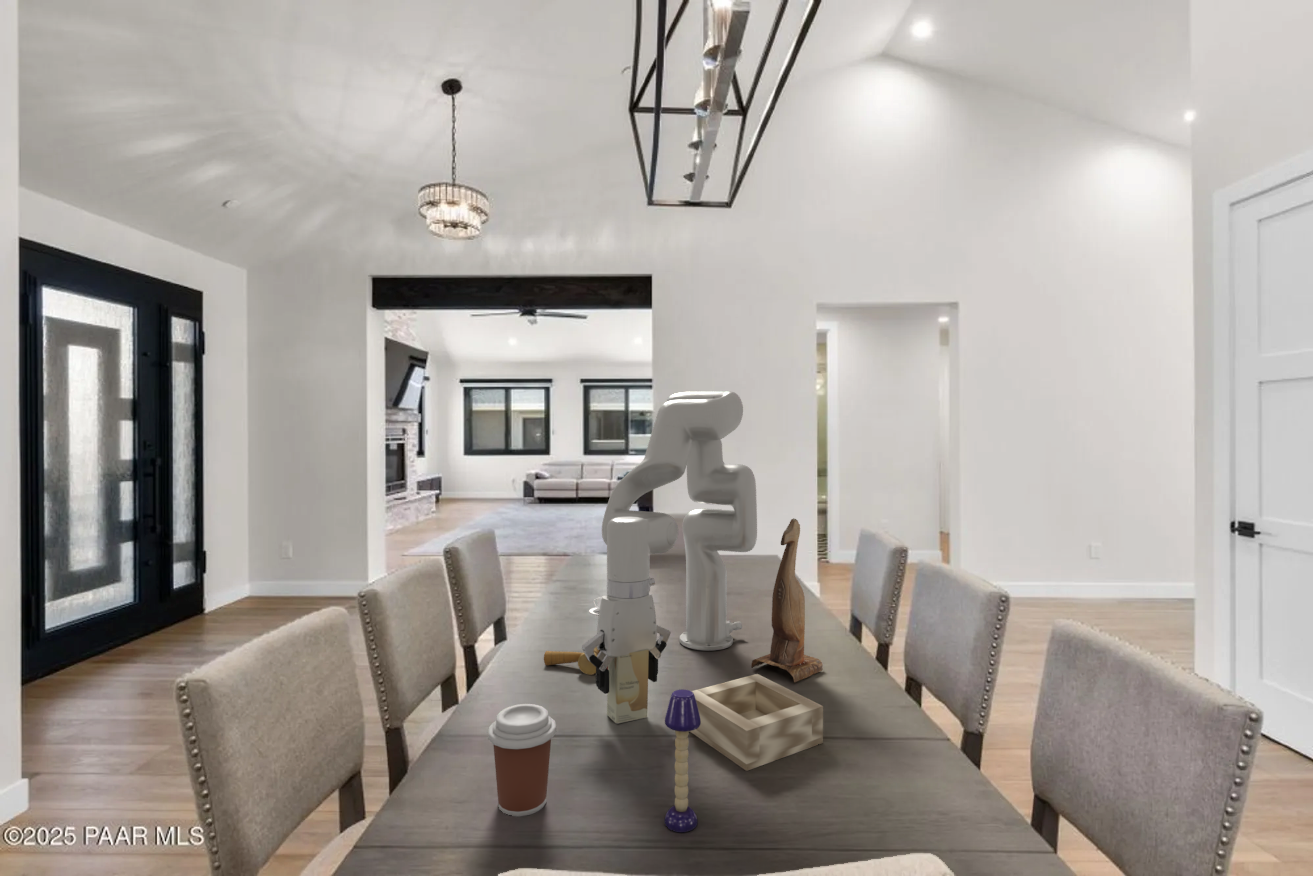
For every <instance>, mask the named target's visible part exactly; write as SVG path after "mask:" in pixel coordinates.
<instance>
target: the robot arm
mask: <svg viewBox="0 0 1313 876" xmlns="http://www.w3.org/2000/svg"><path fill="white" fill-rule="evenodd" d="M743 412H744V405H743V402H742V399H741V397H740V395H738V394H737V393H736V392H734V391H728V390H727V391H726V390H725V391H723V390H722V391H683V392H682V391H681V392H677V393H674V394H673V393H672V394H671V395H670V396H669V397H667V399H666V402H664V403H662V405H660V407H659V408H658V411H657V413H656V416H655V421H654V424H653V427H652V431H651V434H650V437H649V442H648V443H647V448H646V450H645V454H644V458H643V459H642V461H641V462H639V463H638V465H636V466H635V467H633V468H632V469H631V470H630V471H629V472H628V473H626V475H624V476H623V477H622V479H620V480H619V482H618V483H617V484H615V485H616V486H615V487H613V490H612V491H611V494H610V496H609V499H608V502H607V505H606V509H605V510H604V514H603V515H604V516H603V518H602V523H601V537H602V540H603V542H604V544H605V545H606V595H602V596H603V597H602V596H601V597H602V600H601V604H600V609H599V610H598V614H599V615H597V617H598V618H597V624H596V625H597V626H596V627H597V628H596V634H595V635H594V636H593V637H592V638H590V639H588V640H587V641H586V642H585V643H583V644H582V645H581V650H582V651H583V652H582V653H585V655H586V657H587V660H589V661H590V662H591V663H592V664H593V665H594V666H595V667H596V673H595V686H596V687H597V689H598V690H599V691H600V692H601V693H603V694H605V695H607V693H608V692H609V670H607V669H606V668H607V667H608V665H609V663H610V662H611V660H612V659H613V658H616V657H619V656H623V655H627V654H629V653H631V652H636V651H641V650H646V649H649V659H648V681H649V680H650V681H651V682H653V683H656V682H658V674H659V659H661V658H662V653H663V652H664V650H665V649H666V647H667V642H668V640H669V638H670V636H671V633H672V632H671V631H670V630H669V629H667V628H665V627H662V626H661V625H658V624H657V616H656V608H655V602H654V598H653V594H652V593H650V592H651V587H652V586H655V585H656V580H655V578H654V577H650V566H651V565H650V560H651V559H650V556H651V555H658V554H659V555H660V554H664V553H667V552H669V551H670V550H672V548H673V547H674V546H675V544H677V540H678V538H679V537H678V536H679V526H678V524H677V521H676V520H675V518H674V517H672V516H671V515H670V514H667V513H665V512H656V511H644V510H632V509H631V507H632V506H633V504H634V503H635V502H636V501H637V500H638V499H640V497H642V496H643V495H645V494H646V493H647V494H648V493H649V492H651V491H653V490H656V489H658V488H661V487H663V486H665V485H667V484H670V483H673V482H675V481H677V480H679V479H680V478H681V477H683V475H684V474H685V473H686V481H687V482H686V488H687V492H688V493H687V494H688V497H689V498H690V500H691V501H692V502H694V503H697V504H704V505H713V506H714V505H715V506H730V507H732V509H733V510H731V509H722V508H721V509H719V508H696V509H692V510H690V511H689V512H687V513H686V514H685V515H684V518H683V519H682V520H683V521H682V527H681V529H682V537H683V543H684V549H685V560H686V561H685V563H686V564H685V567H686V570H685V571H686V574H685V577H686V578H685V585H686V586H685V590H686V591H685V631H683V632H682V633H681V634H680V635H679V643H680V644H681V646H684V647H686V648H688V649H691V650H696V651H709V652H710V651H720V650H724V649H727V648H730V647H731V646H732V645H733V643H734V640H733V639H734V638H733V636H732V635H731V633H733V631H738V630H742V628H743V623H742V622H741V621H734V622H731V620H727V588H728V587H727V583H728V582H727V578H728V577H727V576H728V575H727V566H726V563H725V561H724V560H723V558H722V556H721V555H720V553H719V552H720V551H722V552H732V553H733V552H734V553H748V552H750V551H752V550H753V549H754V548H755V546H756V543H757V540H758V539H757V538H758V513H757V512H758V511H757V509H758V508H757V507H758V505H757V503H758V502H757V483H756V478H755V474H754V472H753V470H752V468H751V467H749V466H747V465H745V464H737V463H725V462H724V459H723V443H722V439H724V438H726V437H727V436H729V435H730V434H731V433H733V432H734V431H735V430H736V429H737V428H738V427H739V426H740V424H741V422H742V419H743V415H744V413H743ZM658 634H659V637H658V636H657V635H658ZM657 637H658V638H657ZM595 647H597V649H598V650H599V651H600V652H599V654H598V655H597V657H596V656H595V654H594V648H595Z"/></svg>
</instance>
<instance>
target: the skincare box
mask: <svg viewBox="0 0 1313 876" xmlns="http://www.w3.org/2000/svg"><path fill="white" fill-rule="evenodd" d="M648 659H649V649H646V650H641V651H636V652H631V653H629V654H627V655H623V656H619V657H616V658H613V659H612V660H611V662H610V663H609V665H608V670H609V692H608V693H607V694H606V697H607V698H606V701H607V702H606V715H607V716H608V717H609V718H610V719H611V721H613V722H614V723H615V724H621V723H622V724H623V723H627V722H631V721H636V720H642V719H645V718H648V700H649V699H648V697H649V695H648V694H649V679H648Z"/></svg>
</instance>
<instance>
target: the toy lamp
mask: <svg viewBox="0 0 1313 876" xmlns="http://www.w3.org/2000/svg"><path fill="white" fill-rule="evenodd" d="M692 691H693V690H688V689H684V688H683V689H676V690H674V691H673V692H671V694H670V698H669V702H668V705H667V709H666V713H665V717H664V725H665V726H666V727H667V728H668V729H670V730H672V731H674V734H675V740H674V745H675V746H674V747H675V750H674V759H675V762H674V771H675V774H674V784H675V786H674V795H675V798H674V805H672V806H671V807H670V808H669V809H668V810H667V811H666V814H665V815H664V816H665V817H664V825H665V824H666V825H665V827H666V826H667V827H668V828H667V827H666V828H667V829H668V830H670V831H672V830H673V831H672V832H677V833H686V832H689V831H693V830H694V829H695V828H696V827H697V825H698V817H697V814H696V813H695V811H694V809H693V808H691V807H690V806H689V799H688V794H689V787H688V783H689V773H688V770H689V762H688V759H689V750H688V748H689V738H688V736H689V734H690V733H689V732H690V731H692V730H695V729H697V728H698V727H699V726H700V724H701V720H700V715H699V711H698V706H697V702H696V698H695V695H694V693H693V692H692Z"/></svg>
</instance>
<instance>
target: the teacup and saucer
mask: <svg viewBox="0 0 1313 876" xmlns="http://www.w3.org/2000/svg"><path fill="white" fill-rule="evenodd" d="M603 596H604V595H602V596H598V597H597V598H594V600H593V605H594V606H595V607H591V608H590V609H589V610H588V613H590V614H591V615H596V616H599V613H596V612H594V611H595V610H598V611H599V609H600V604H601V600H602V597H603ZM595 601H597V604H596V603H595Z"/></svg>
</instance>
